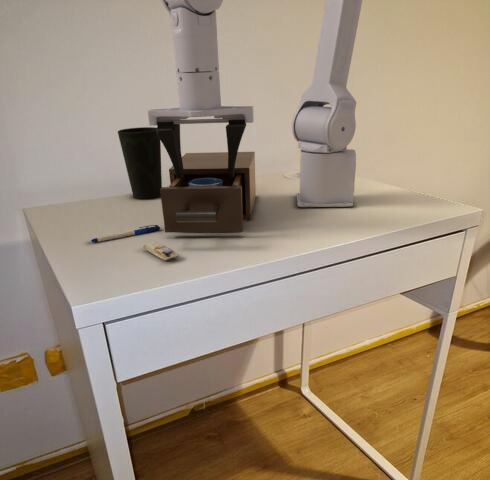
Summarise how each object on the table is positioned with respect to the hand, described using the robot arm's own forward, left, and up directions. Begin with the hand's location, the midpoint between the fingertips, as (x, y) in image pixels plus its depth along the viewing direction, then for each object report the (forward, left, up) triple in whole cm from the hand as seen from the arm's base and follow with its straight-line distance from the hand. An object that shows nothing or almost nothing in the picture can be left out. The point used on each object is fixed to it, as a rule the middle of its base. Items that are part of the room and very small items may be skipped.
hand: (205, 176), depth 69 cm
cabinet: (0, -11, -8) cm, 13 cm away
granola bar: (+5, +12, -8) cm, 15 cm away
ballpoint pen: (+12, +4, -8) cm, 15 cm away
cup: (+15, -20, -8) cm, 26 cm away
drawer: (0, +1, -7) cm, 7 cm away
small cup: (0, 0, -6) cm, 6 cm away
